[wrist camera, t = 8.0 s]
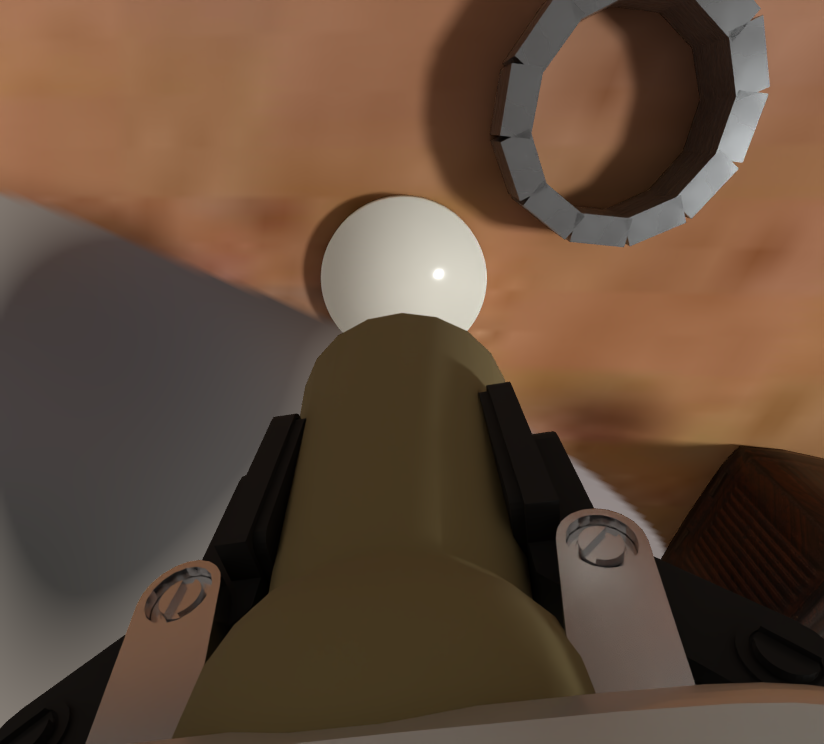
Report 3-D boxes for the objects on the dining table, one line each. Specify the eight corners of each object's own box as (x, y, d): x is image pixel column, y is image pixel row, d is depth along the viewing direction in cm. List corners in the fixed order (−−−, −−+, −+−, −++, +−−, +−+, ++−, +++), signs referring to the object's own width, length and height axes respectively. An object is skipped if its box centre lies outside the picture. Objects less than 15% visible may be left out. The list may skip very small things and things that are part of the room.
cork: (268, 354, 13) (-184, 921, 3) (473, 281, 13) (730, 729, 2) (351, 517, 16) (237, 1162, 5) (531, 464, 15) (793, 1100, 5)
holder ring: (447, 145, 21) (451, 147, 19) (612, -99, 17) (642, -132, 15) (604, 273, 24) (625, 288, 22) (775, 85, 20) (821, 80, 18)
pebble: (293, 298, 24) (290, 303, 23) (382, 157, 21) (381, 158, 21) (421, 378, 26) (421, 385, 26) (517, 261, 23) (521, 265, 23)
